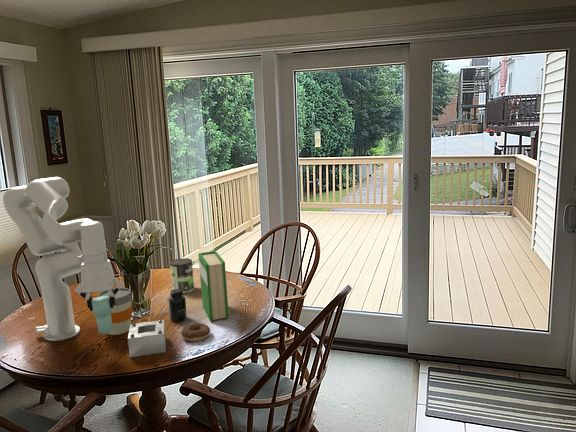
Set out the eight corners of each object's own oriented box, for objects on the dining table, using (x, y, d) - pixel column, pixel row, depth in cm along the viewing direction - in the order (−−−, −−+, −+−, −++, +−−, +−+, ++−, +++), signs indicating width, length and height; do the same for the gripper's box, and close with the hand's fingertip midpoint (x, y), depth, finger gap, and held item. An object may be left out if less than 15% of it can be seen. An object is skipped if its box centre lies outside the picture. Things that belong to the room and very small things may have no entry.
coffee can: (198, 286, 232) (195, 258, 229) (188, 294, 222) (185, 265, 219) (179, 285, 235) (176, 257, 232) (168, 292, 225) (165, 264, 222)
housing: (129, 357, 165) (127, 336, 163) (132, 342, 176) (130, 322, 175) (165, 352, 168) (163, 331, 166) (165, 337, 179) (163, 318, 178)
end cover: (95, 336, 163) (90, 303, 161) (97, 329, 169) (92, 297, 166) (114, 332, 164) (108, 300, 162) (115, 326, 170) (110, 294, 168)
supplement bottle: (183, 322, 191) (180, 294, 189) (167, 321, 193) (164, 293, 190) (189, 315, 198) (187, 288, 196) (174, 314, 199) (171, 287, 197)
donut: (177, 336, 180) (176, 326, 179) (202, 328, 186) (201, 318, 185) (189, 346, 172) (188, 336, 171) (215, 337, 178) (214, 327, 177)
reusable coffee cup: (132, 320, 196) (128, 285, 193) (138, 331, 185) (133, 295, 182) (99, 327, 190) (95, 291, 187) (103, 339, 179) (98, 302, 176)
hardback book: (228, 319, 193) (224, 262, 188) (210, 322, 190) (206, 264, 186) (219, 303, 209) (215, 250, 204) (202, 306, 207) (198, 253, 202)
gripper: (65, 264, 156) (73, 315, 160) (121, 258, 160) (127, 308, 164) (70, 258, 163) (77, 307, 167) (123, 252, 167) (129, 301, 171)
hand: (102, 307), depth 165 cm, fingers closed on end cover, 6 cm apart
